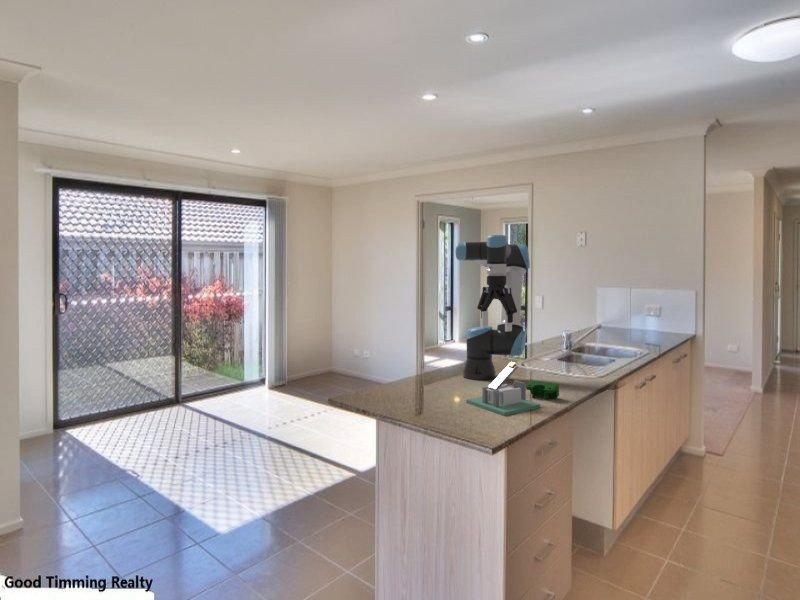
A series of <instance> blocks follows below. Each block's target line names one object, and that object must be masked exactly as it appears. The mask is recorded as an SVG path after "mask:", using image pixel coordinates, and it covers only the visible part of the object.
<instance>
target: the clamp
mask: <svg viewBox="0 0 800 600" xmlns="http://www.w3.org/2000/svg"><path fill="white" fill-rule="evenodd" d="M527 390H528V391H530V394H531V395H532V399H535V397H543V398H544V401H546V400H549V399H553V400H554V399H555V400H556V399H557V398H558V397H559V396H560V389H559V384H558V383H553V382H547V381H541V380H534V379H531V380H530V381H529V382H527V383H526V391H527Z"/></svg>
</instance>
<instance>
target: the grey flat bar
mask: <svg viewBox="0 0 800 600" xmlns="http://www.w3.org/2000/svg"><path fill="white" fill-rule="evenodd" d="M518 366H519V365H517V362H513V361H510V362H509V363H508V364H507V365H506V366H505V367H504V369H502V370H501V372H500V373H499V374H498V375H496V377H495V378H494V380H492V382H491V383H490V384H488V386H487V387H488V389H492V390H498V389H499V388H500V387H501V386H502V385H504V384H505V383H506V382H507V380H509V378H510V377H511V376H512V374H513V373H514V372H515V371H516V370H517V369H518Z"/></svg>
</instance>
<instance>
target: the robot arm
mask: <svg viewBox="0 0 800 600" xmlns="http://www.w3.org/2000/svg"><path fill="white" fill-rule="evenodd" d="M507 241H508V239H507V236H506V235H504V234H491V235H487V238H486V241H471V242H470V241H468V242H467V241H461V242H458V243H456V244H455V257H456V260H457V261H470V262H474V263H476V264H478V265H479V266H482V267H485V268H486V274H487V276H486V285H487V286H482V292H481V295H480V299H479V302H478V304H477V307H476V308H477V310H480V319H481V325H480V326H475V327H470V328H468V329H467V331H466V337H465V339H466V361H465V363H464V364H465V365H464V367H463V370H462V376H463V378H465V379H470V380H481V381H482V380H483V381H484V380H491V379H495V378H496V377H497V375H496V370H495V366H494V363H493V356H508V357H510V356H511V357H518V356H519V357H520V356H521V355H523V353H524V351H525V346H526V341H527V331H526V330H525V329H524V326H523V325H522V324H521V316H522V315H521V313H522V290H523V277H524V275H525V274H526V273H527V270H528V269H530V267H531V264H530V263H531V262H530V254H529V249H528V246H527V244H525V243H524V244H521V243H514V244H513V243H512V244H511V243H508V242H507ZM493 300H498V301H500V303H501V315H500V316H501V318H500V320H501V321H500V322H499V323H498V324H497V326H496V327H497V329H493V327H492V326H491V325H489V310H488V308H489V307H490V305H491V304H492V302H493Z"/></svg>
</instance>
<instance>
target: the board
mask: <svg viewBox="0 0 800 600" xmlns="http://www.w3.org/2000/svg"><path fill="white" fill-rule="evenodd" d="M526 385H527V383H526V382H525V381H524V382H523V381H522V380H521V381H520V380H517V379H515V380H513V387H510V386H508V384H507V383H503V385H502V386H501V387H500V388H499V389H498V390H492V389H489V388H488V386H482V396H478V397H473V398H469V399H467V398H466V400H465V401H466V404H469V405H472V406H475V407H477V408H479V409H480V408H481V409H483V410H487V411H489V412H492V413H495V414H497V415H501V416H503V417H506V416H509V415H515V414H518V413H523V412H526V411H532V410H535V409H540V408H541V403H538V402H534V401H531V400H528V399H527V397H526V394H527V393H526V391H527V389H526Z"/></svg>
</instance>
